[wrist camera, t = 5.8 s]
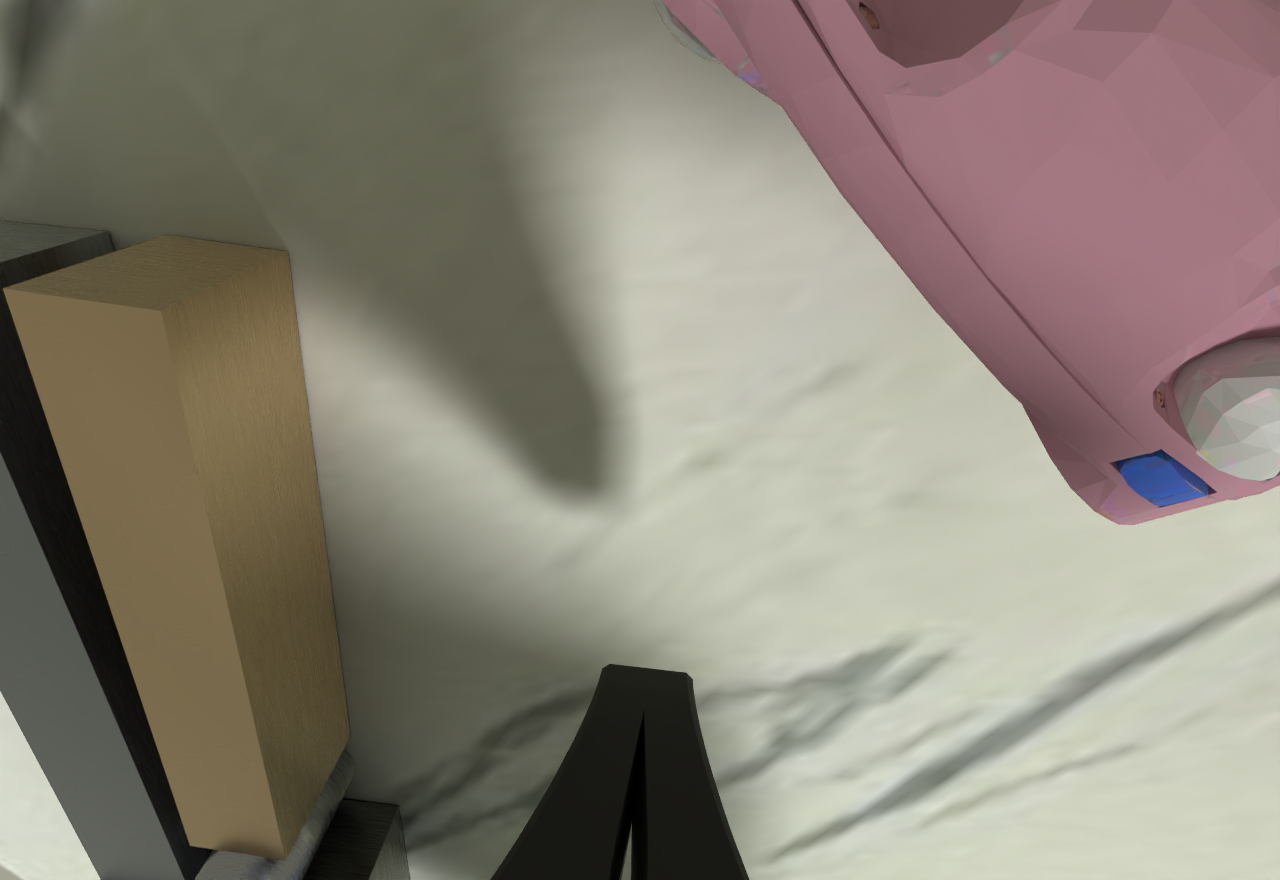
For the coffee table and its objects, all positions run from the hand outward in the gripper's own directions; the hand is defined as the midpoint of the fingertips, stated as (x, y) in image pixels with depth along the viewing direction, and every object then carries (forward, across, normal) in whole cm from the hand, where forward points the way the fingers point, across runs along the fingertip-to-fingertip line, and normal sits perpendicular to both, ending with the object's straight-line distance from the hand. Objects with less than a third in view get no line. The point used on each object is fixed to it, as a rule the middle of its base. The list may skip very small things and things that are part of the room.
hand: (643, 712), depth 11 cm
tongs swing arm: (+3, +8, +1) cm, 8 cm away
